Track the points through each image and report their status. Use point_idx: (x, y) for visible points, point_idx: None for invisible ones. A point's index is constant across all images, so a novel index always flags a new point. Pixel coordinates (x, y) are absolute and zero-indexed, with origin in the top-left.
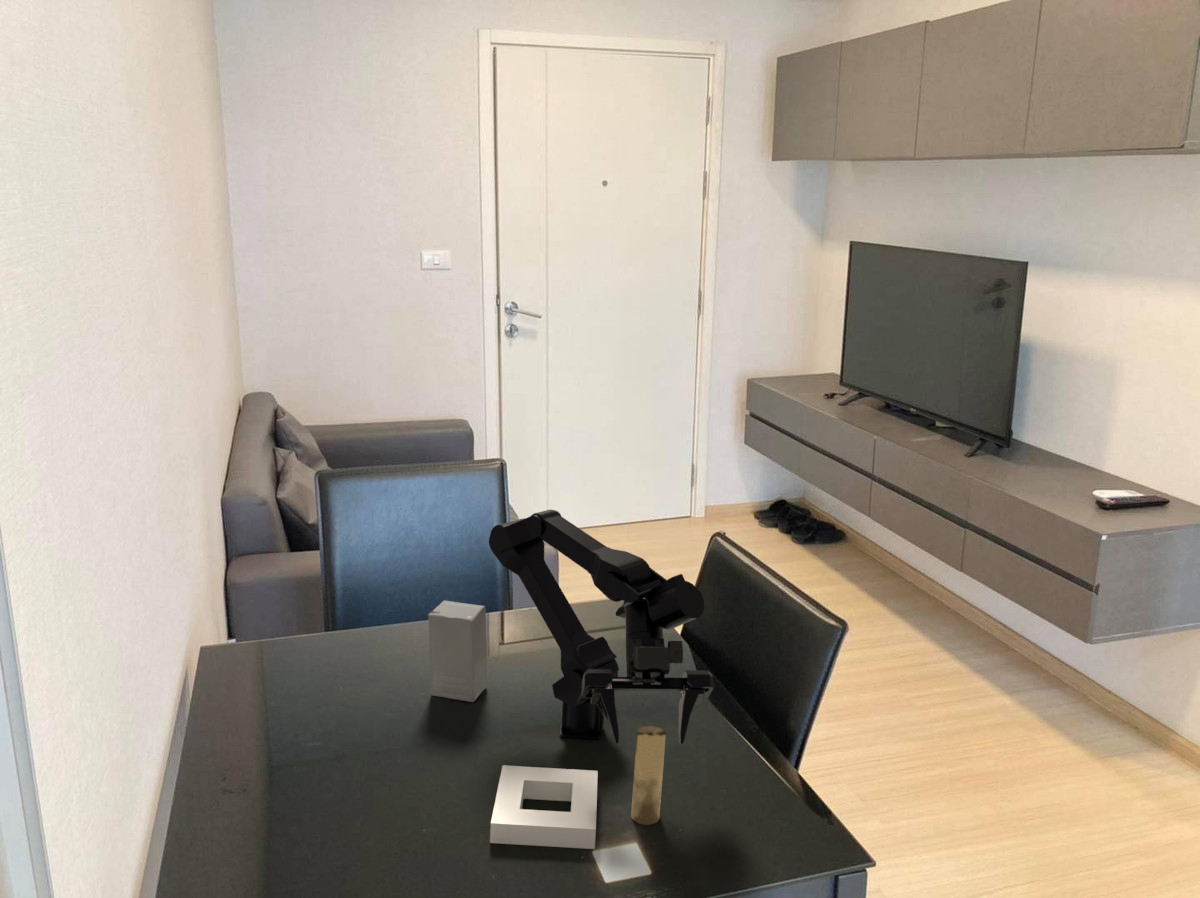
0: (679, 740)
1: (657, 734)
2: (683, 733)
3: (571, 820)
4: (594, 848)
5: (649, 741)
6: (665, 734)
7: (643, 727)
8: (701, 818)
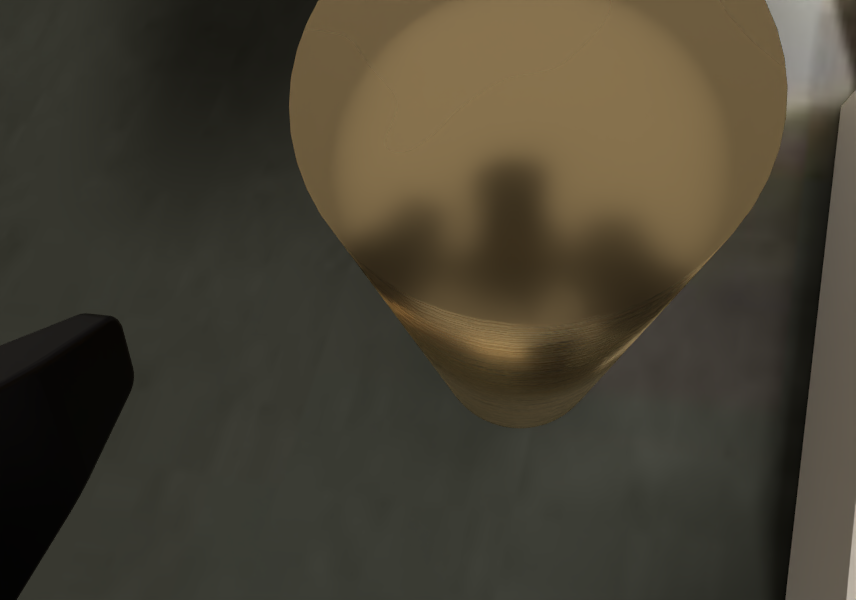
0: (109, 404)
1: (434, 43)
2: (9, 354)
3: None
4: (843, 106)
5: None
6: (306, 36)
7: (629, 282)
8: (225, 301)
